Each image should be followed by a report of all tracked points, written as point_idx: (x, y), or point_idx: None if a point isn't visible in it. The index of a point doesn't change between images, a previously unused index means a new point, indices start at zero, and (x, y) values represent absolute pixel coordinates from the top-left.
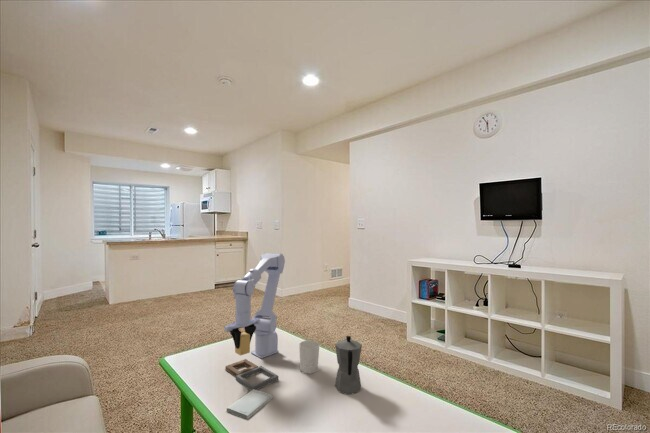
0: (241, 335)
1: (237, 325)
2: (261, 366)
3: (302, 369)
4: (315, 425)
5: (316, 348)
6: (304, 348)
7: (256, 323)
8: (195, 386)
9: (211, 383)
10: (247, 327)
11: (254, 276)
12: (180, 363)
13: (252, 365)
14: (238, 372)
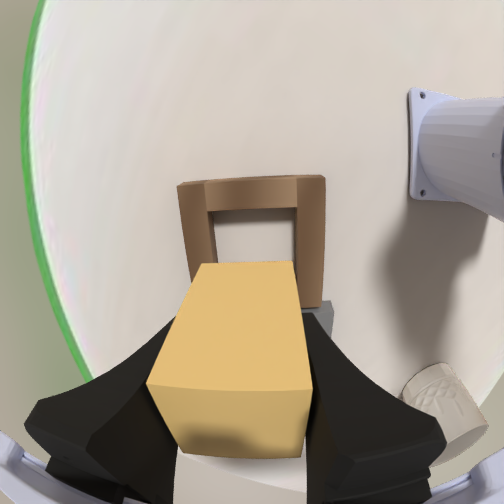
0: (205, 439)
1: None
2: (331, 316)
3: (406, 394)
4: (254, 479)
5: (439, 460)
6: None
7: (454, 486)
8: (54, 243)
9: (100, 262)
10: (317, 495)
11: None
12: (66, 8)
13: (305, 281)
14: None
